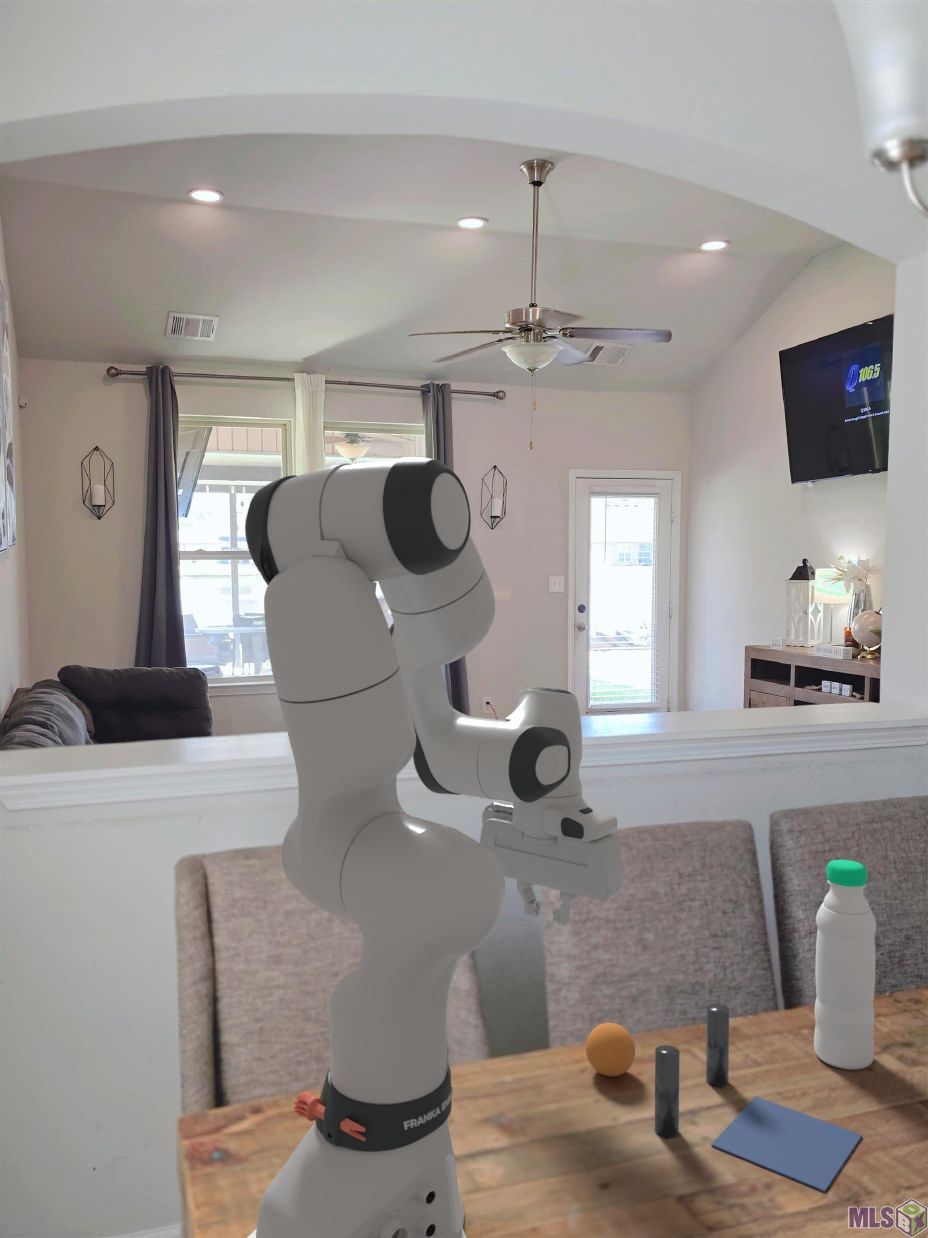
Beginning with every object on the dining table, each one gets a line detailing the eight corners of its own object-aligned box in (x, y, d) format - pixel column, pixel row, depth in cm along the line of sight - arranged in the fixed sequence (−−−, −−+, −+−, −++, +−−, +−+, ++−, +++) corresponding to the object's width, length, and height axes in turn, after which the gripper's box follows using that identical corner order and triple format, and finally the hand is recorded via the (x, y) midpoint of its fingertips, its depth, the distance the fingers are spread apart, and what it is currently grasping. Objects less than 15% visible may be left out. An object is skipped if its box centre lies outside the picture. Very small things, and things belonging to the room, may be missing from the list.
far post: (722, 1089, 112) (723, 1016, 112) (702, 1082, 114) (703, 1009, 113) (731, 1080, 114) (732, 1008, 114) (711, 1073, 116) (712, 1002, 115)
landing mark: (824, 1192, 93) (824, 1190, 93) (711, 1146, 101) (711, 1144, 101) (862, 1136, 103) (862, 1135, 103) (755, 1098, 110) (755, 1096, 110)
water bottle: (879, 1075, 115) (883, 874, 114) (818, 1069, 117) (822, 870, 116) (866, 1047, 122) (870, 857, 121) (809, 1041, 124) (812, 853, 122)
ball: (619, 1092, 112) (619, 1042, 111) (576, 1075, 115) (576, 1027, 115) (643, 1071, 116) (644, 1024, 116) (601, 1055, 120) (602, 1009, 120)
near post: (672, 1141, 102) (672, 1060, 102) (650, 1132, 104) (651, 1052, 103) (682, 1130, 104) (683, 1050, 104) (661, 1121, 106) (662, 1043, 105)
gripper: (468, 804, 125) (468, 907, 125) (602, 831, 112) (601, 945, 112) (497, 796, 129) (497, 895, 130) (629, 820, 116) (628, 930, 117)
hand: (546, 918), depth 121 cm, fingers open, 3 cm apart
